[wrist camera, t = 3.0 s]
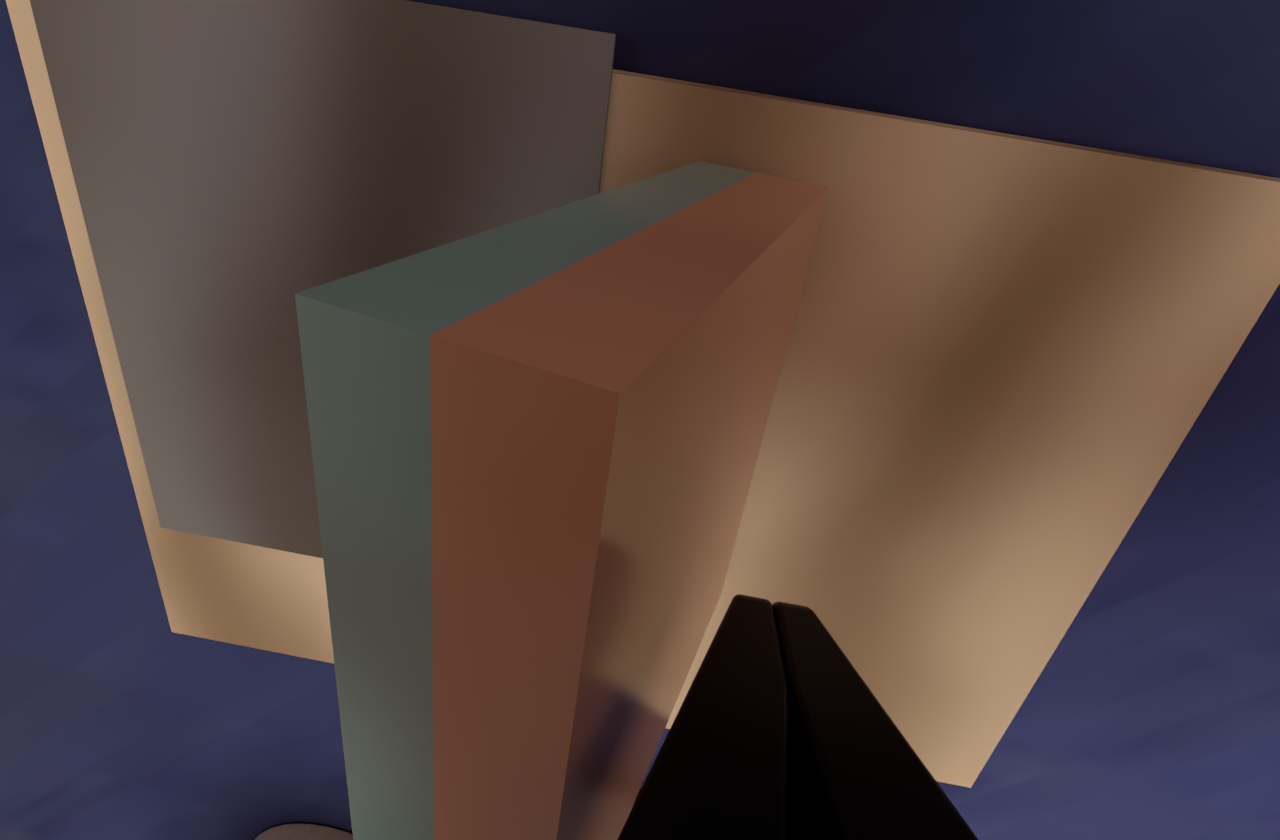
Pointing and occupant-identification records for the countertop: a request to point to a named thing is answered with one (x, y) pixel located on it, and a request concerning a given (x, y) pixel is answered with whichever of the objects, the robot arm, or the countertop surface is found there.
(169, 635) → the countertop surface
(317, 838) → the coffee cup
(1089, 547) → the board
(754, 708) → the robot arm
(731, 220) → the tile
